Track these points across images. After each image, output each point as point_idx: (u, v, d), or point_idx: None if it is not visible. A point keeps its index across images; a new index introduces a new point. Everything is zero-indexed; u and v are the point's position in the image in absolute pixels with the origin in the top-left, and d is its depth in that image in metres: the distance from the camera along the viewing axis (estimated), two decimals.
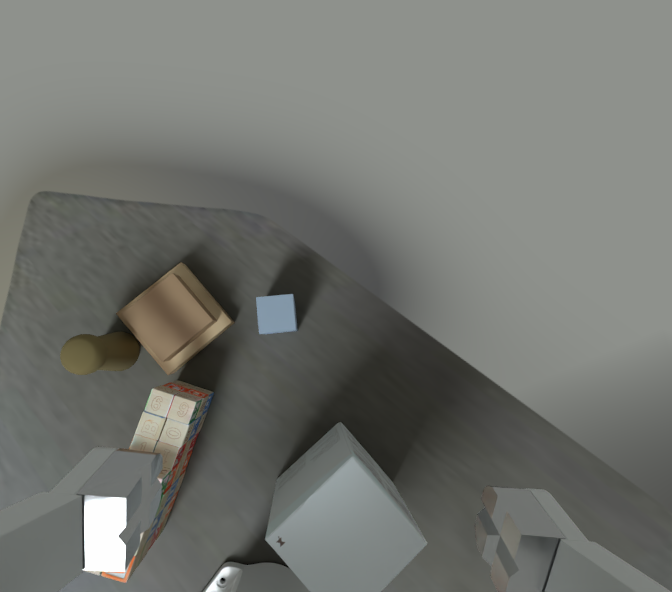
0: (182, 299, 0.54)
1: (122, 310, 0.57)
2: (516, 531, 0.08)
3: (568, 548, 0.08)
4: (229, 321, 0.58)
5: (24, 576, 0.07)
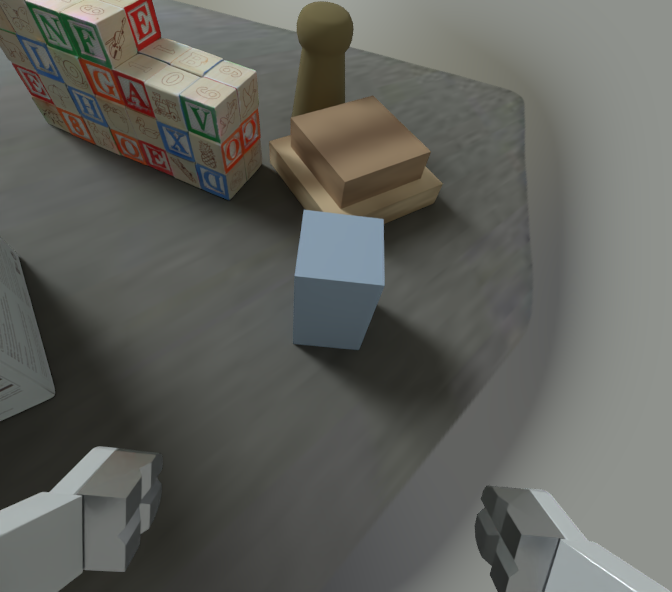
0: (385, 154, 0.32)
1: None
2: (516, 531, 0.08)
3: (568, 548, 0.08)
4: None
5: (24, 576, 0.07)
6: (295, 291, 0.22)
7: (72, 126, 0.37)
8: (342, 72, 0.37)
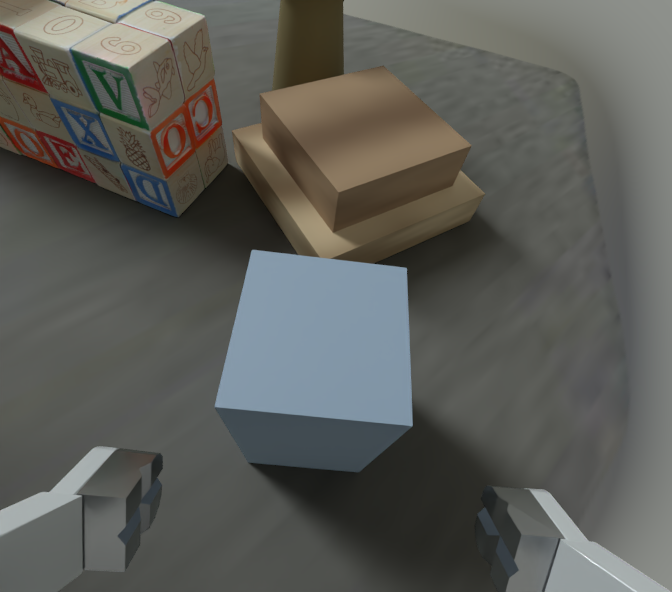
0: (402, 149, 0.21)
1: None
2: (516, 531, 0.08)
3: (568, 548, 0.08)
4: (325, 256, 0.20)
5: (24, 576, 0.07)
6: (226, 422, 0.11)
7: None
8: (339, 33, 0.26)
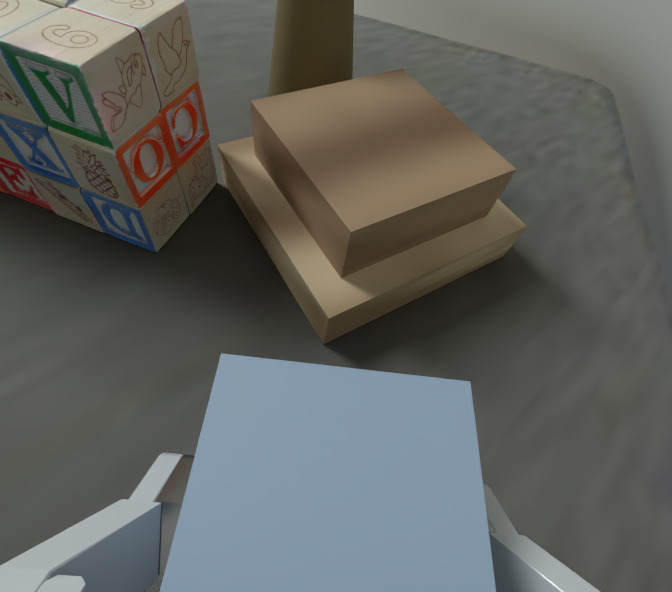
0: (431, 173, 0.17)
1: None
2: None
3: (496, 541, 0.08)
4: (331, 311, 0.16)
5: (111, 583, 0.07)
6: None
7: None
8: (349, 29, 0.22)
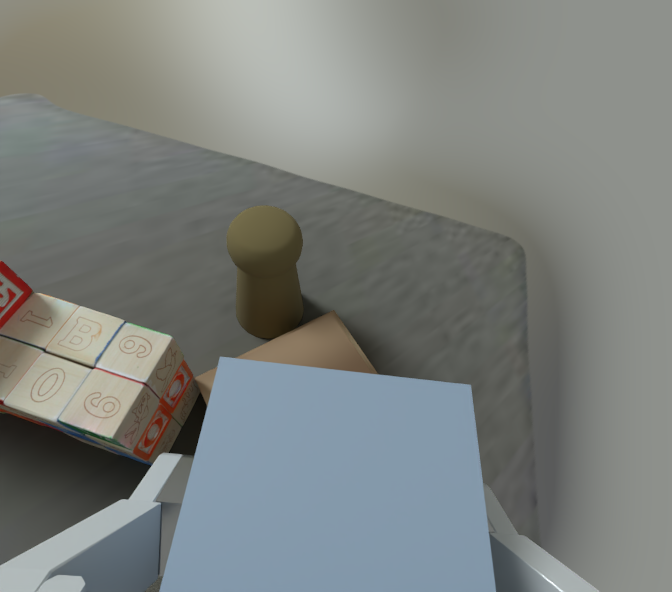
0: None
1: (337, 320, 0.31)
2: None
3: (496, 541, 0.08)
4: None
5: (111, 583, 0.07)
6: None
7: None
8: (292, 280, 0.29)
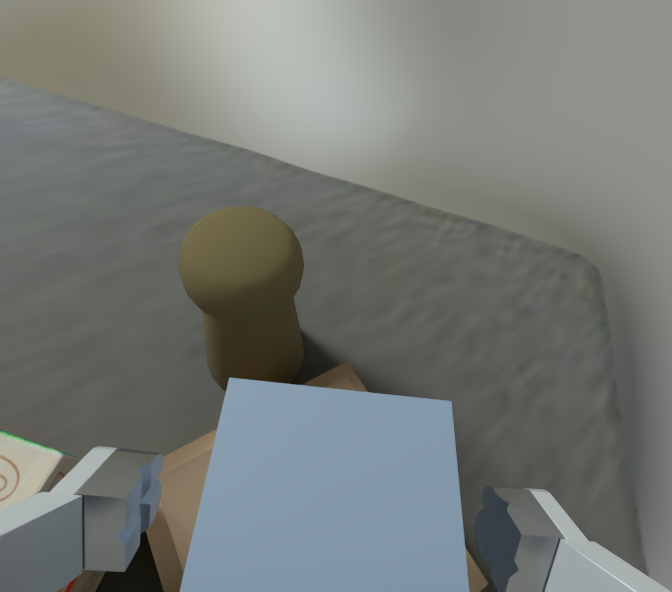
0: None
1: (353, 377, 0.21)
2: (516, 531, 0.08)
3: (568, 548, 0.08)
4: None
5: (24, 576, 0.07)
6: None
7: None
8: (287, 321, 0.19)
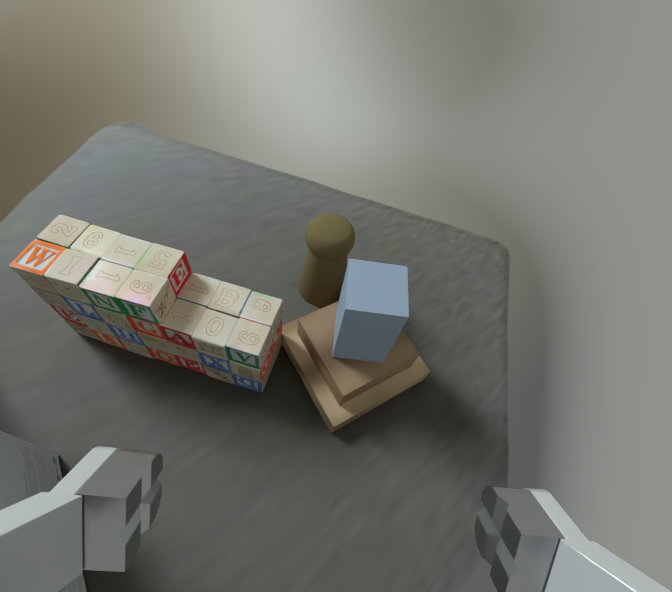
0: None
1: None
2: (516, 531, 0.08)
3: (568, 548, 0.08)
4: (335, 423, 0.36)
5: (24, 576, 0.07)
6: (343, 319, 0.31)
7: (104, 338, 0.40)
8: (344, 264, 0.42)
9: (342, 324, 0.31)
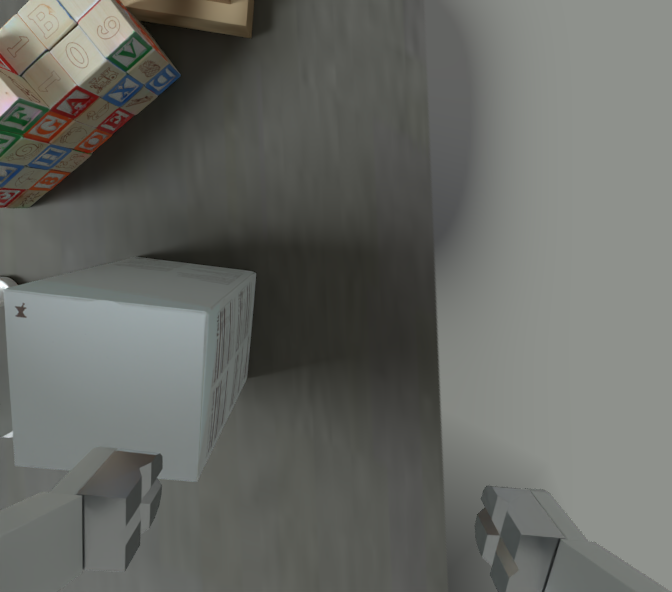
0: None
1: None
2: (516, 531, 0.08)
3: (568, 548, 0.08)
4: (243, 22, 0.34)
5: (24, 576, 0.07)
6: None
7: (47, 185, 0.38)
8: None
9: None
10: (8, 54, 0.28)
